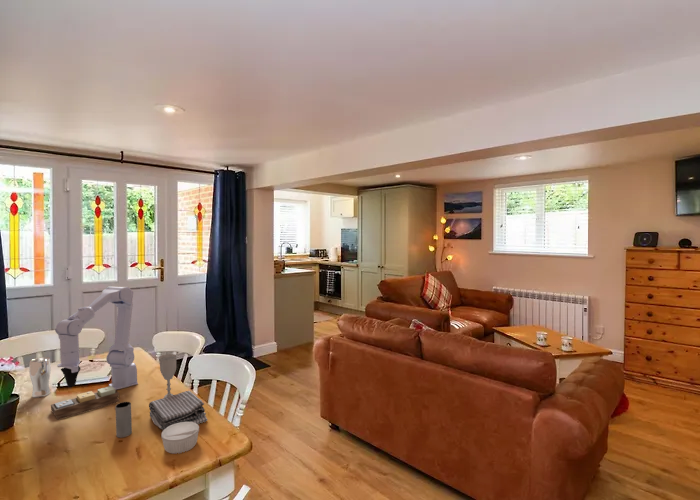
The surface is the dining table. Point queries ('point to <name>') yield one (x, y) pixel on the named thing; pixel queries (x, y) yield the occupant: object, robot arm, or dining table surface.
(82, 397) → the two pip tile
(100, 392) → the one pip tile
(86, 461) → the dining table surface
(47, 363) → the beer glass
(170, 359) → the chalice
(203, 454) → the dining table surface
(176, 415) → the towel
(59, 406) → the three pip tile
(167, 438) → the ramekin
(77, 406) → the brown tile tray
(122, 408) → the grey cylinder
